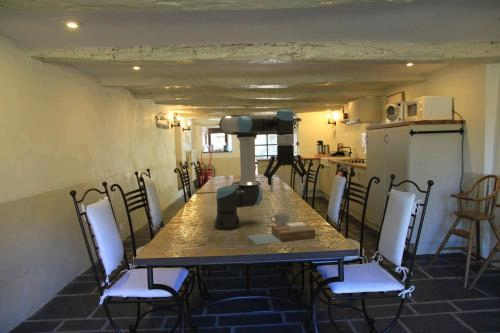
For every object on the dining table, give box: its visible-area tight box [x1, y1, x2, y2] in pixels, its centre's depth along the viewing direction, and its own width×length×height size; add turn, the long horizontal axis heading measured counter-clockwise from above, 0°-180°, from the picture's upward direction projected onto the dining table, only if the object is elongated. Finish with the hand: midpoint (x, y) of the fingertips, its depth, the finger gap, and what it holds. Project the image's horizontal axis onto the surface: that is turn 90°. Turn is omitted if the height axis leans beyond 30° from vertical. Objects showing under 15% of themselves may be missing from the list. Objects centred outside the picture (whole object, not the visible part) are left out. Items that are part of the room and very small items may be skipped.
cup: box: [269, 211, 290, 226], centre depth 186 cm, size 11×8×8 cm
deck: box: [271, 225, 316, 243], centre depth 169 cm, size 14×18×4 cm
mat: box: [247, 232, 282, 246], centre depth 164 cm, size 15×13×1 cm
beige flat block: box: [286, 221, 308, 230], centre depth 169 cm, size 6×9×2 cm, turn 107°
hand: (285, 191), depth 148 cm, fingers open, 13 cm apart
